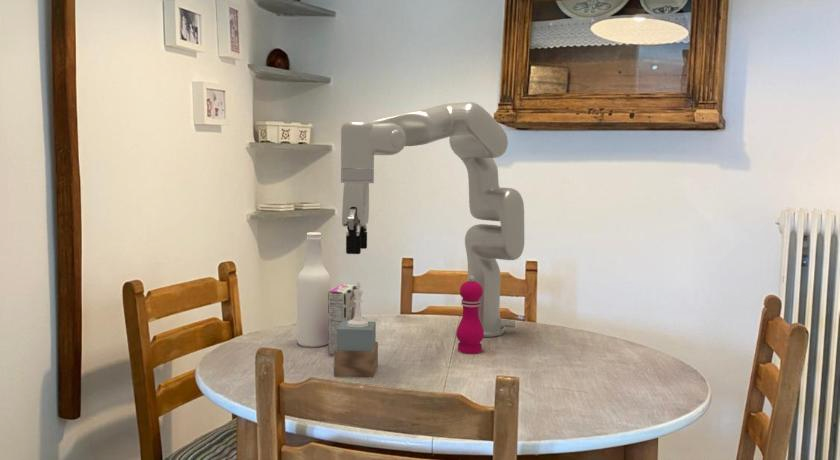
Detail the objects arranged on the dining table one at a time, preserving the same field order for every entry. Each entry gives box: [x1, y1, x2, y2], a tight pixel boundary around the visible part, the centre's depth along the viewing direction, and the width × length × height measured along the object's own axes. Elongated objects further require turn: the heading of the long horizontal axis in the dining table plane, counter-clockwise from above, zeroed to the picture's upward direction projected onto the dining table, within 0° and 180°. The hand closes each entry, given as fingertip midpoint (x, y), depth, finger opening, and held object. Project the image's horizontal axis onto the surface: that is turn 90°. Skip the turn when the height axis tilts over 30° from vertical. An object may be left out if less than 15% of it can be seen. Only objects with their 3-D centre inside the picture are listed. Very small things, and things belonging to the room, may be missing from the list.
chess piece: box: [347, 282, 369, 328], centre depth 150 cm, size 5×5×10 cm
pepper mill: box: [456, 275, 485, 355], centre depth 169 cm, size 7×7×20 cm
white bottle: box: [296, 231, 331, 348], centre depth 173 cm, size 9×9×30 cm
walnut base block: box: [333, 341, 379, 378], centre depth 151 cm, size 9×9×6 cm
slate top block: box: [337, 321, 377, 352], centre depth 150 cm, size 8×8×5 cm
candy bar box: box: [328, 283, 357, 356], centre depth 168 cm, size 11×5×16 cm, turn 168°
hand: (356, 251), depth 149 cm, fingers open, 9 cm apart
